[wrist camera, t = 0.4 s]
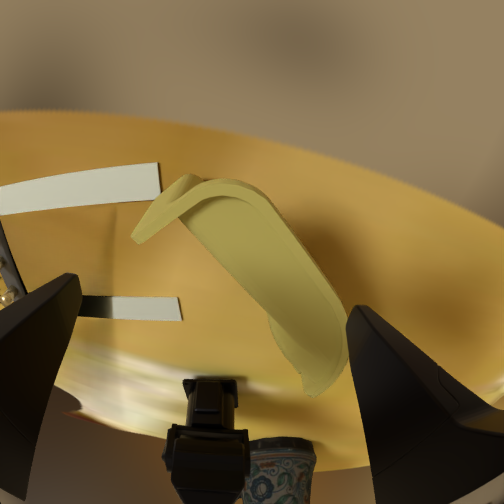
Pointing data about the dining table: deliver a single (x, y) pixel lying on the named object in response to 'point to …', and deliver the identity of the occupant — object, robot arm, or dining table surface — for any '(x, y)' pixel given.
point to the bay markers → (87, 193)
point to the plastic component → (262, 268)
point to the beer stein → (279, 471)
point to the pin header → (9, 273)
